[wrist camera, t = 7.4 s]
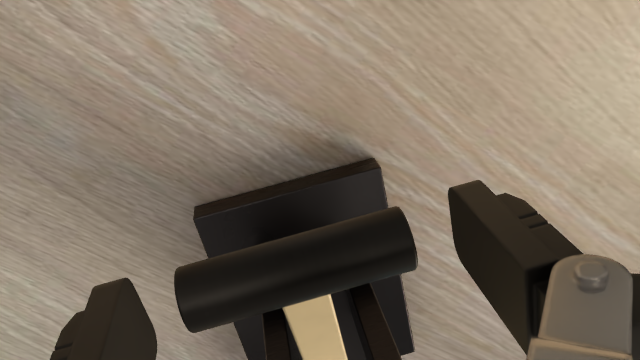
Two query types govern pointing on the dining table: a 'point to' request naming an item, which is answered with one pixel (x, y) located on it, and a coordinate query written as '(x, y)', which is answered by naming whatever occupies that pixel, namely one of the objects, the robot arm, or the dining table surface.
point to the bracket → (300, 216)
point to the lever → (298, 278)
